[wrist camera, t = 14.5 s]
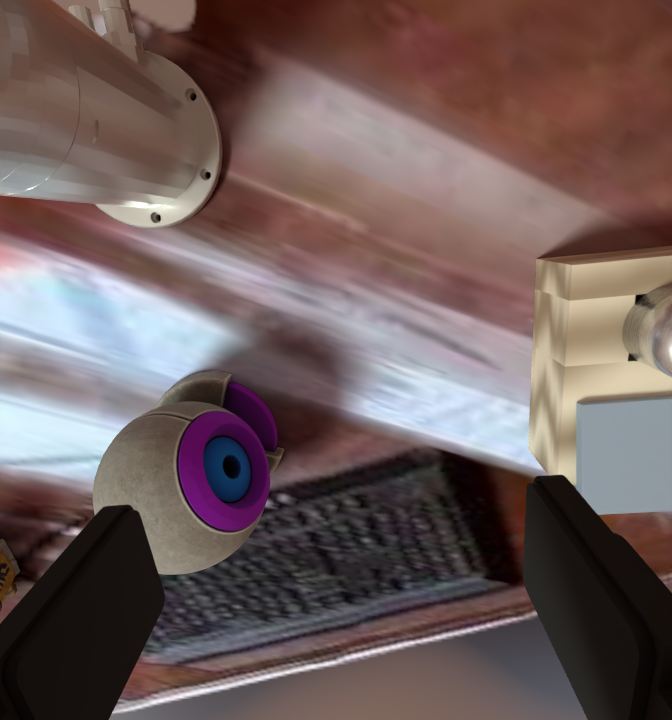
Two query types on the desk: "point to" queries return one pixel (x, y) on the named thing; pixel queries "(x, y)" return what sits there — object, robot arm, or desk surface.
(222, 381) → the webcam
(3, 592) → the decorative figurine
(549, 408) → the block
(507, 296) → the desk surface
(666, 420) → the plate
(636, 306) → the light bulb
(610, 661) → the robot arm
